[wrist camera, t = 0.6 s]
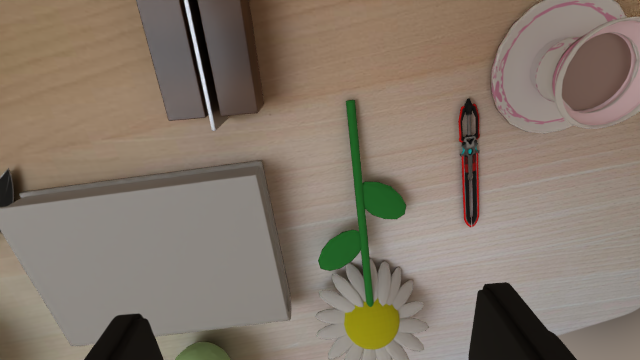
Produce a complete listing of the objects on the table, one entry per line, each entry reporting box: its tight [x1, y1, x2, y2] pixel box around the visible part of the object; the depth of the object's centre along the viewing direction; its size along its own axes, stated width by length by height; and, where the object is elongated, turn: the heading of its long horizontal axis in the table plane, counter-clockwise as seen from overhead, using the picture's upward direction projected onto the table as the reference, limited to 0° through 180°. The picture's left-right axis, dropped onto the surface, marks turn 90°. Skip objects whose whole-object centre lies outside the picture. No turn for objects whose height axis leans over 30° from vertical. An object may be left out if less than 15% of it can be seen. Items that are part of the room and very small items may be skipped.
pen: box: [458, 98, 480, 227], centre depth 32 cm, size 2×14×1 cm, turn 12°
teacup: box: [491, 0, 640, 134], centre depth 26 cm, size 12×12×6 cm
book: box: [0, 160, 291, 346], centre depth 34 cm, size 18×4×24 cm
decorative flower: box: [315, 100, 428, 360], centre depth 34 cm, size 13×5×30 cm
